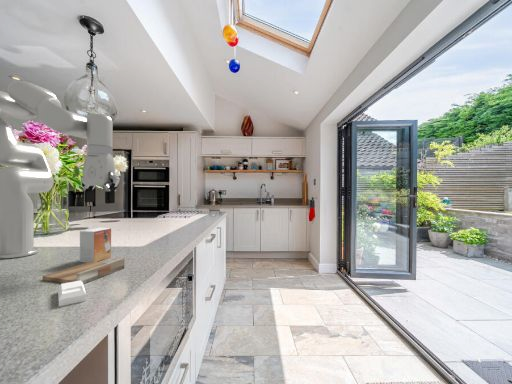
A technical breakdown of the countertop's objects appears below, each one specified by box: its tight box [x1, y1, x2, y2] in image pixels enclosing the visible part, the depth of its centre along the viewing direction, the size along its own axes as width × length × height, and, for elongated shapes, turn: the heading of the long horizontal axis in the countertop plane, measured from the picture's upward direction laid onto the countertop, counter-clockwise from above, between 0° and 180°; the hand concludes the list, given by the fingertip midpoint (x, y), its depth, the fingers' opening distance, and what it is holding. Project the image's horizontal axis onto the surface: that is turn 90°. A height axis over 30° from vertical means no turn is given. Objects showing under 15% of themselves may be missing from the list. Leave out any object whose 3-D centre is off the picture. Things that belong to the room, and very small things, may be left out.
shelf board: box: [42, 257, 125, 285], centre depth 76 cm, size 13×15×3 cm
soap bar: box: [57, 281, 87, 307], centre depth 60 cm, size 5×9×3 cm, turn 38°
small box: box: [79, 227, 112, 263], centre depth 90 cm, size 8×6×10 cm
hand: (99, 202), depth 88 cm, fingers open, 9 cm apart
